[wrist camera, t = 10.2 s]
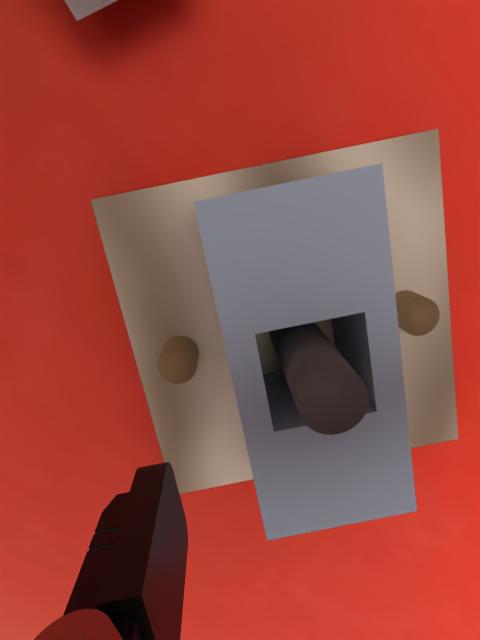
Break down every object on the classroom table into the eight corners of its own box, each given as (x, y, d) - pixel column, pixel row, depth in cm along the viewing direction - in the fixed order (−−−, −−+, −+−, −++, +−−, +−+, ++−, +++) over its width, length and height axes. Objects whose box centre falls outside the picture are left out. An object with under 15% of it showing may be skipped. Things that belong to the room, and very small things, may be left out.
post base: (176, 475, 22) (149, 638, 13) (101, 200, 18) (0, 193, 10) (442, 423, 22) (578, 555, 13) (420, 135, 18) (589, 73, 10)
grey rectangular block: (201, 203, 17) (193, 201, 12) (335, 176, 17) (382, 163, 12) (255, 459, 20) (266, 540, 15) (369, 437, 20) (416, 510, 15)
